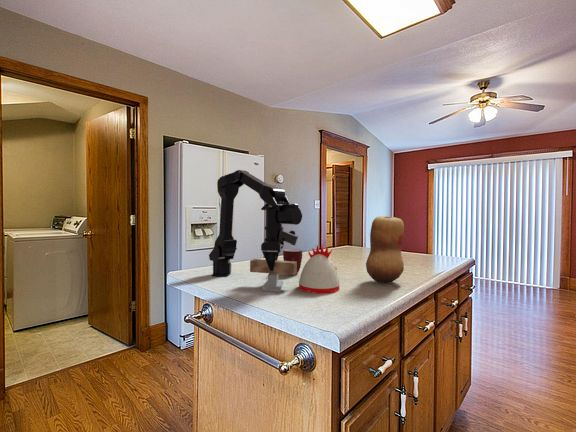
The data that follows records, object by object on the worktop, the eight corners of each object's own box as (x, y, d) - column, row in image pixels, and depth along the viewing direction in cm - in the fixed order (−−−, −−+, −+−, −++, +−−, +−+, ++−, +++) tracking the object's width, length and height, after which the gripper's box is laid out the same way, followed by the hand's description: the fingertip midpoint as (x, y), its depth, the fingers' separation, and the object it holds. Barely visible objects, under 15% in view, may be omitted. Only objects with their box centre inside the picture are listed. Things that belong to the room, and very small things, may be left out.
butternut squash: (396, 289, 107) (397, 216, 106) (360, 283, 115) (361, 216, 114) (408, 281, 118) (409, 216, 117) (374, 276, 126) (375, 215, 125)
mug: (304, 277, 124) (304, 252, 123) (284, 277, 123) (284, 252, 122) (300, 271, 134) (300, 249, 134) (281, 272, 133) (282, 249, 133)
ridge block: (262, 291, 102) (262, 276, 102) (266, 282, 114) (266, 269, 114) (280, 291, 102) (280, 276, 101) (282, 282, 114) (283, 269, 113)
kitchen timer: (338, 295, 99) (339, 248, 98) (296, 292, 101) (296, 246, 101) (339, 284, 112) (340, 243, 112) (302, 282, 115) (303, 242, 115)
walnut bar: (250, 271, 108) (250, 260, 108) (253, 270, 112) (254, 259, 111) (294, 275, 104) (294, 263, 104) (296, 273, 107) (296, 261, 107)
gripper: (296, 225, 97) (295, 274, 98) (297, 222, 116) (297, 264, 116) (261, 224, 98) (260, 273, 98) (268, 222, 117) (267, 263, 117)
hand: (273, 268), depth 108 cm, fingers open, 9 cm apart
